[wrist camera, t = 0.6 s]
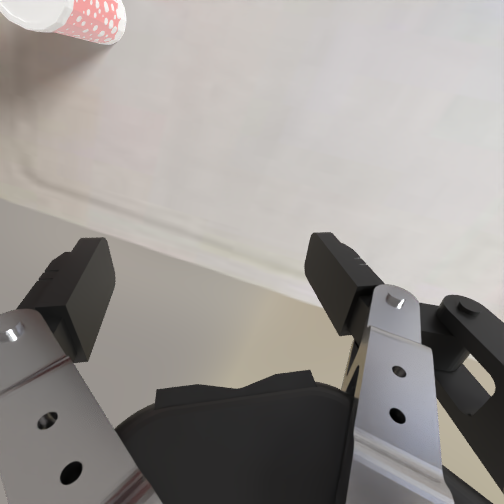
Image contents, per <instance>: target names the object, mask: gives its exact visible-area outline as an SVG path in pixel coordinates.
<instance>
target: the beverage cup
mask: <svg viewBox="0 0 504 504" xmlns="http://www.w3.org/2000/svg"><path fill="white" fill-rule="evenodd" d="M0 12H1V13H2V14H3V15H4V16H5V17H6V18H7V19H8V20H9V21H11V22H13V23H15V24H17V25H19V26H21V27H23V28H25V29H27V30H33V31H35V32H55V33H59V34H63V35H67V36H71V37H75V38H79V39H83V40H87V41H91V42H95V43H99V44H106V45H112V44H114V43H116V42H117V41H119V40H120V38H121V37H122V35H123V34H124V32H125V26H126V14H125V8H124V6H123V3H122V1H121V0H0Z"/></svg>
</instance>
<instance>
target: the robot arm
mask: <svg viewBox="0 0 504 504" xmlns="http://www.w3.org/2000/svg"><path fill="white" fill-rule="evenodd" d="M305 275H306V277H307V279H308V281H309V283H310V285H311V286H312V288H313V290H314V292H315V294H316V295H317V297H318V299H319V301H320V302H321V304H322V306H323V308H324V310H325V311H326V313H327V315H328V317H329V318H330V320H331V322H332V324H333V326H334V327H335V329H336V331H337V333H338V334H339V336H345V335H352V336H353V338H354V340H353V342H352V346H351V349H350V353H349V358H348V362H347V367H346V371H345V375H344V379H343V383H342V387H341V390H340V389H338V388H336V387H333V386H330V385H328V384H324V383H320V382H315V381H314V378H313V376H312V373H311V371H310V370H305V371H297V372H290V373H281V374H275V375H273V376H270V377H268V378H265V379H263V380H260V381H258V382H255V383H253V384H250V385H248V386H246V387H243V388H240V389H233V388H225V387H216V386H208V385H199V384H196V385H189V386H180V387H172V388H165V389H157V391H156V399H155V403H154V404H152V405H149V406H147V407H145V408H143V409H141V410H139V411H137V412H136V413H135V414H133V415H131V416H130V417H128V418H127V419H126V420H125V421H123V422H122V423H121V424H120V425H118V426H117V427H116V428H115V429H114V428H113V426H112V425H111V423H110V422H109V420H108V418H107V417H106V415H105V413H104V412H103V410H102V409H101V407H100V405H99V404H98V402H97V400H96V399H95V397H94V396H93V394H92V392H91V391H90V389H89V388H88V386H87V384H86V383H85V381H84V379H83V378H82V376H81V375H80V373H79V371H78V370H77V368H76V366H75V365H74V363H78V362H88V360H89V357H90V355H91V352H92V349H93V346H94V343H95V341H96V338H97V335H98V332H99V329H100V327H101V324H102V321H103V318H104V315H105V313H106V310H107V307H108V304H109V301H110V298H111V296H112V293H113V290H114V287H115V271H114V267H113V263H112V259H111V255H110V251H109V246H108V243H107V240H106V239H105V238H103V237H102V238H81V239H80V240H79V241H78V243H77V244H76V245H75V247H74V248H73V250H72V251H71V252H64V253H63V254H61V255H60V256H58V257H57V258H56V259H54V260H53V261H52V262H51V263H50V264H49V266H48V267H47V268H46V270H45V273H43V274H42V275H41V277H40V278H39V281H37V282H36V283H35V285H34V286H33V287H32V289H31V290H30V291H29V293H28V294H27V295H26V297H25V298H24V299H23V301H22V302H21V303H20V305H19V306H18V308H17V309H16V310H13V311H9V312H6V313H3V314H0V476H1V479H2V483H3V486H4V490H5V493H6V497H7V500H8V504H493V503H491V502H490V501H489V500H487V499H486V498H485V497H484V496H482V495H481V494H480V493H478V492H477V491H476V490H475V489H473V488H472V487H471V486H469V485H468V484H467V483H465V482H464V481H463V480H462V479H460V478H459V477H458V476H456V475H455V474H454V473H452V472H451V471H450V470H448V469H447V468H446V467H445V466H443V465H442V460H441V450H440V437H439V425H438V413H437V401H436V397H437V399H438V400H439V402H440V403H441V405H442V406H443V408H444V409H445V410H446V412H447V413H448V415H449V416H450V417H451V419H452V420H453V422H454V423H455V425H456V426H457V428H458V429H459V431H460V432H461V433H462V435H463V436H464V437H465V439H466V441H467V442H468V443H469V445H470V446H471V448H472V449H473V451H474V452H475V454H476V455H477V456H478V458H479V459H480V461H481V462H482V464H483V465H484V466H485V468H486V469H487V471H488V472H489V473H490V475H491V476H492V478H493V479H494V481H495V482H496V484H497V485H498V487H499V488H500V489H501V491H502V492H503V494H504V323H503V322H502V321H501V320H500V319H498V318H497V317H496V316H495V315H494V314H493V313H491V312H490V311H489V310H488V309H487V308H485V307H484V306H483V305H481V304H480V303H478V302H476V301H474V300H472V299H469V298H467V297H464V296H459V295H448V296H446V297H444V299H443V301H442V302H441V304H440V306H436V305H430V304H424V303H419V302H418V300H417V299H416V298H415V296H414V295H412V294H411V293H410V292H408V291H407V290H405V289H403V288H400V287H398V286H394V285H389V284H384V283H383V281H382V280H381V279H380V278H379V277H378V276H377V275H376V274H375V273H374V272H373V271H372V269H371V268H370V267H369V266H368V265H366V263H365V262H364V261H363V260H362V259H360V256H359V255H358V254H357V253H356V252H355V251H354V250H353V249H351V248H350V247H348V246H347V245H345V244H343V243H341V242H340V241H339V240H338V239H337V238H336V237H335V236H334V235H333V233H331V232H321V233H313V234H312V235H311V237H310V242H309V246H308V251H307V255H306V260H305ZM470 353H471V355H472V356H473V357H474V358H475V359H476V360H477V361H478V362H479V363H480V364H481V365H482V366H483V367H484V369H486V371H487V372H488V373H489V374H490V375H491V377H492V378H493V380H494V382H495V387H496V389H495V393H494V394H493V396H490V395H489V394H488V393H487V391H486V390H485V389H484V388H483V387H482V386H481V384H480V383H479V382H478V381H477V380H476V379H475V378H474V376H473V375H472V374H471V373H470V372H469V371H468V370H467V368H466V367H465V366H464V365H463V364H462V363H463V362H464V361H465V359H466V358H467V357H468V356H469V354H470Z"/></svg>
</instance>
